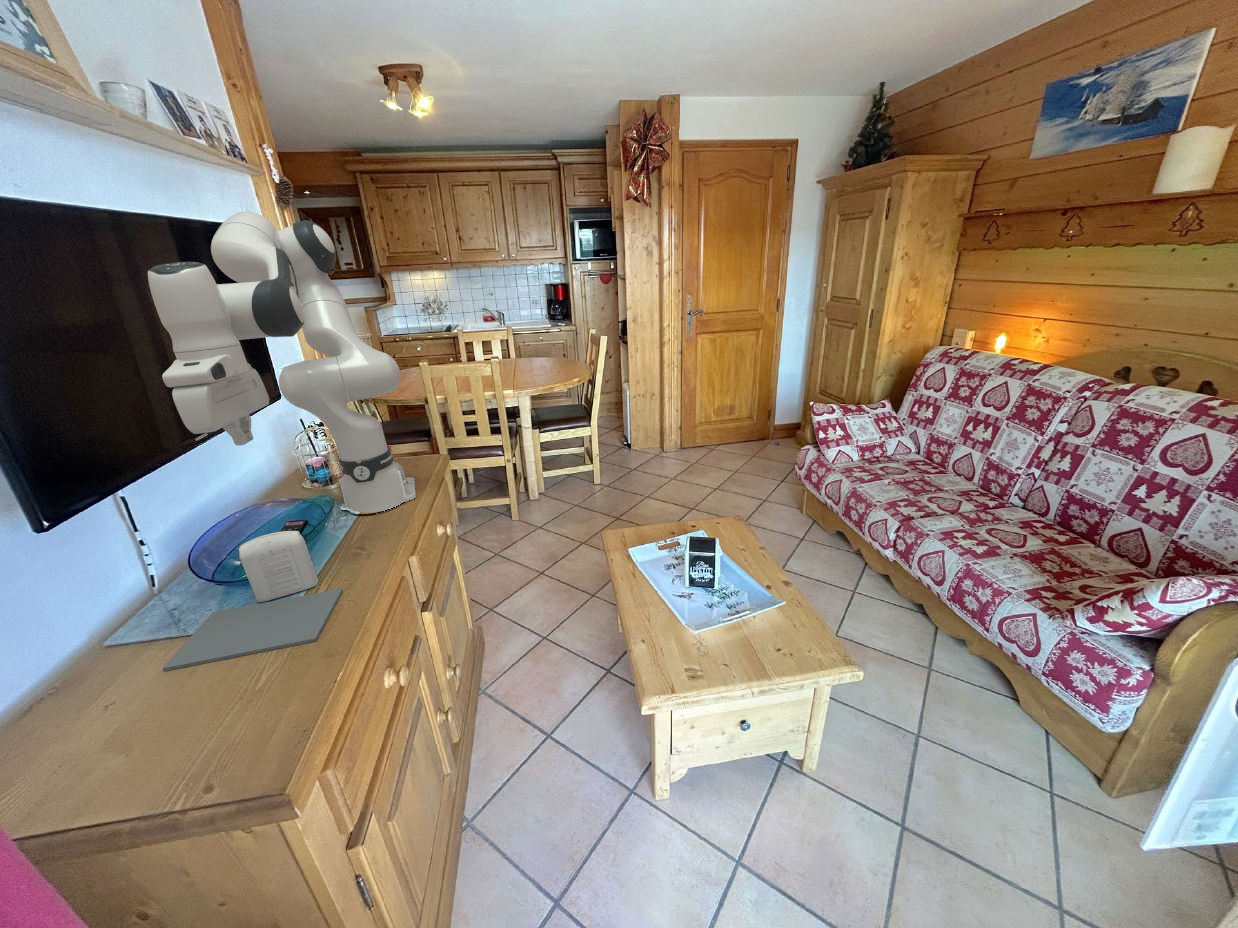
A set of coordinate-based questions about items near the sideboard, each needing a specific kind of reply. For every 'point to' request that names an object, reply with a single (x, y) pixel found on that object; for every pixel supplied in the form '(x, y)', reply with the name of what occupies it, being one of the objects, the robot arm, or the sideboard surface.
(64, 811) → the sideboard surface
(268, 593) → the photo printer
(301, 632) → the mat
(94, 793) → the sideboard surface
